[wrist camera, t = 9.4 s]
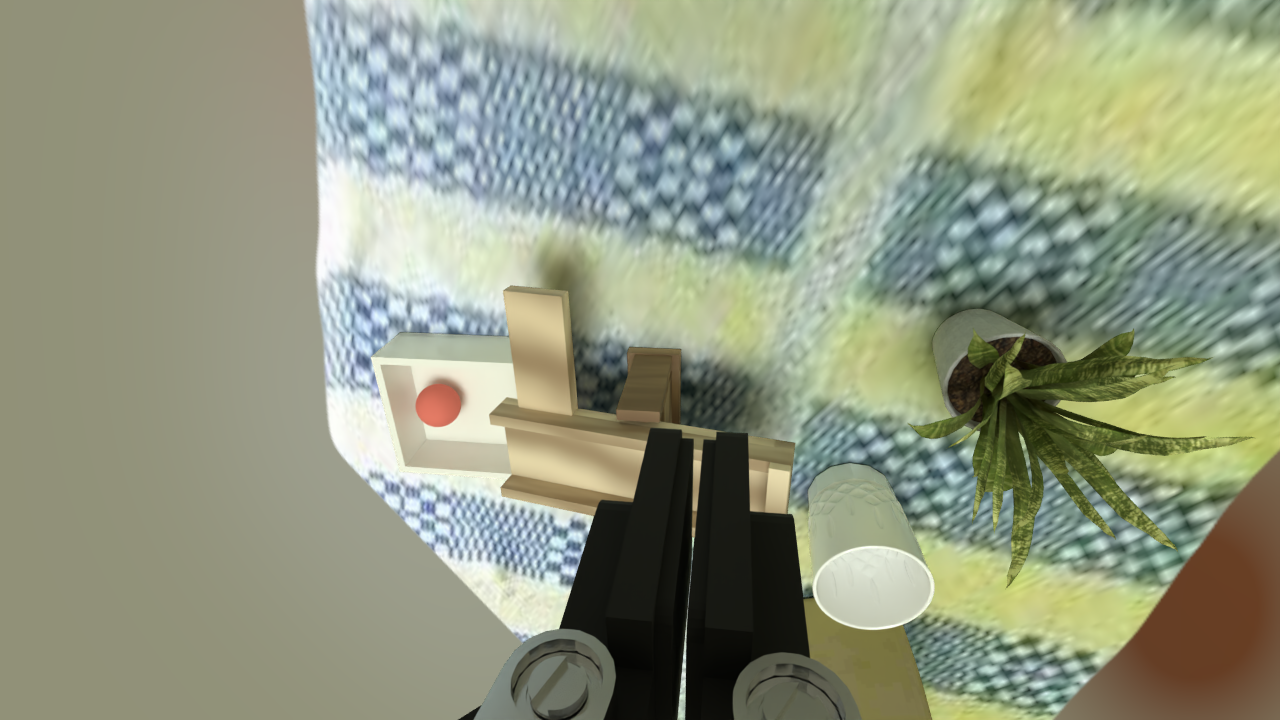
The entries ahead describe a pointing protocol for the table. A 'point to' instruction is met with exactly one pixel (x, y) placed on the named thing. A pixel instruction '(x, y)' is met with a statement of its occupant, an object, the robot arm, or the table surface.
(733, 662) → the robot arm
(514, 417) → the lever
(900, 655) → the cheese
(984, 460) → the house plant
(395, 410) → the dish
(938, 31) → the table surface
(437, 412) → the ball
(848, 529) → the white cup
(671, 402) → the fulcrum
